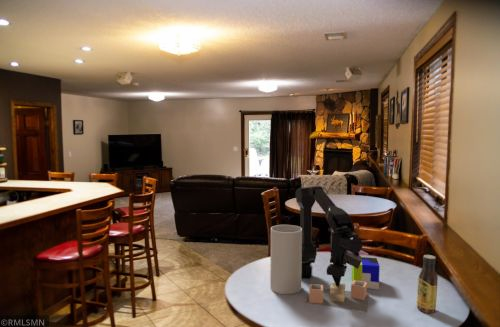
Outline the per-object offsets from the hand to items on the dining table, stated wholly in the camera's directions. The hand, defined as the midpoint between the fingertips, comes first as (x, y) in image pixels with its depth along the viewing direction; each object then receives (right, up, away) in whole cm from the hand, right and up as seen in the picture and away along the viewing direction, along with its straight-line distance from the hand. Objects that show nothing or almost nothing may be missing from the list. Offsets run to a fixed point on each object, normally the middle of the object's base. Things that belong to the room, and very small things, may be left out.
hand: (337, 285), depth 144 cm
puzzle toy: (+15, -5, +15) cm, 22 cm away
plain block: (0, -5, 0) cm, 5 cm away
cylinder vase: (-19, -5, +10) cm, 22 cm away
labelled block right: (+9, -5, +3) cm, 10 cm away
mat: (0, -5, +1) cm, 5 cm away
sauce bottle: (+30, -6, -8) cm, 32 cm away
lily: (+18, -2, +44) cm, 47 cm away
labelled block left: (-8, -5, -1) cm, 10 cm away
